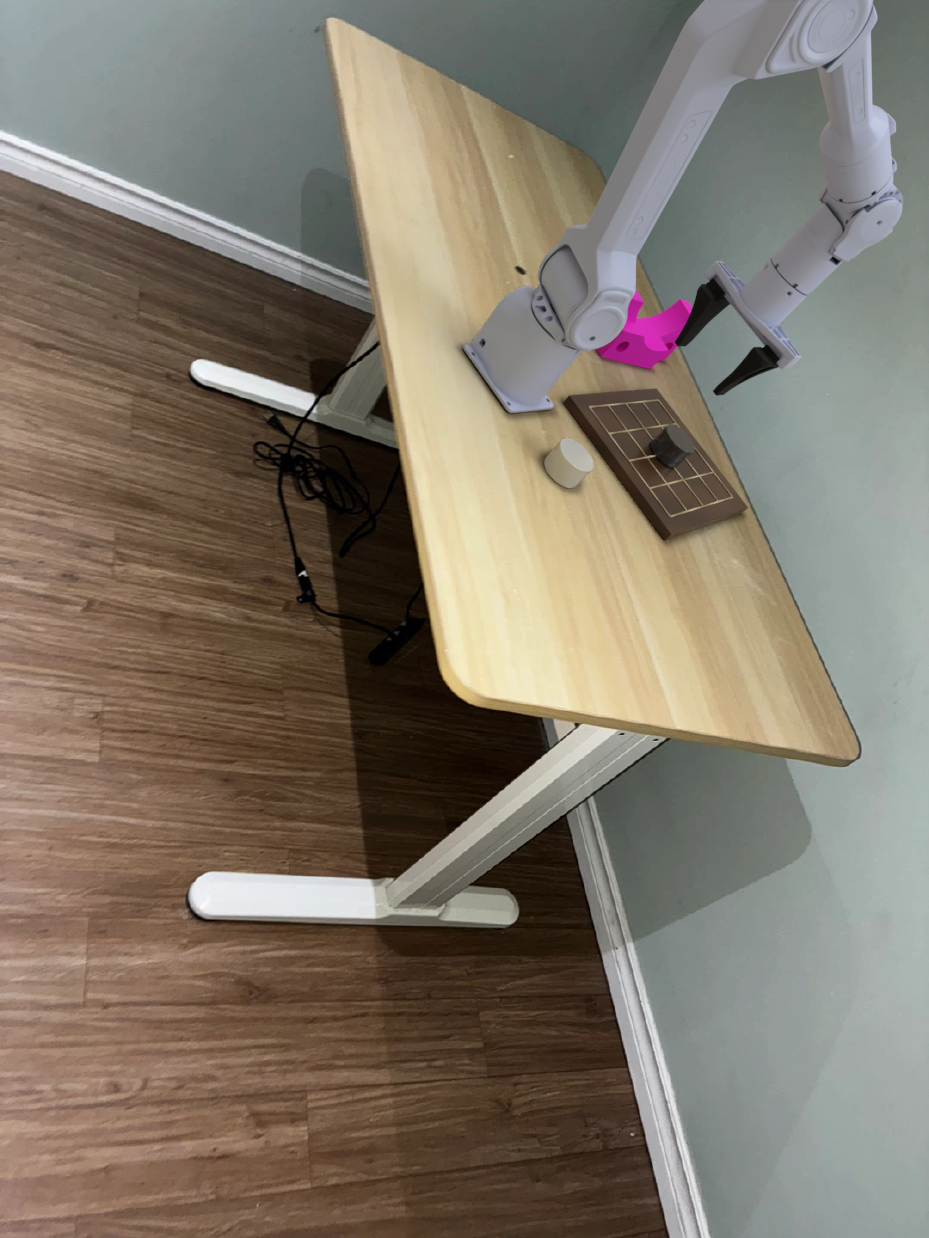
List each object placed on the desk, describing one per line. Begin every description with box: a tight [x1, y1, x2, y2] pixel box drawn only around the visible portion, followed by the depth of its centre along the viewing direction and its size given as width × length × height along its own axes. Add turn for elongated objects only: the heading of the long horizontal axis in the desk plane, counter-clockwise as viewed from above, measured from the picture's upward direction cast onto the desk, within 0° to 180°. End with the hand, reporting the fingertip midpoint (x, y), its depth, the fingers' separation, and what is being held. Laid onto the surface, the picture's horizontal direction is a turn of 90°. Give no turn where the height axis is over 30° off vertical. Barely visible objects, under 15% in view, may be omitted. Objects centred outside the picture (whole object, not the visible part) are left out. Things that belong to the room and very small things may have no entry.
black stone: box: [651, 424, 695, 468], centre depth 97 cm, size 4×4×3 cm
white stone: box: [543, 437, 595, 489], centre depth 85 cm, size 4×4×3 cm
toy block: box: [596, 289, 693, 370], centre depth 109 cm, size 15×6×8 cm, turn 115°
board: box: [563, 387, 749, 541], centre depth 98 cm, size 20×20×1 cm
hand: (698, 368), depth 96 cm, fingers open, 7 cm apart
